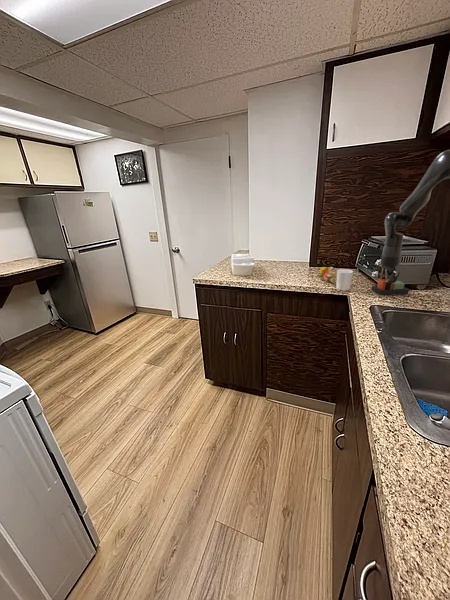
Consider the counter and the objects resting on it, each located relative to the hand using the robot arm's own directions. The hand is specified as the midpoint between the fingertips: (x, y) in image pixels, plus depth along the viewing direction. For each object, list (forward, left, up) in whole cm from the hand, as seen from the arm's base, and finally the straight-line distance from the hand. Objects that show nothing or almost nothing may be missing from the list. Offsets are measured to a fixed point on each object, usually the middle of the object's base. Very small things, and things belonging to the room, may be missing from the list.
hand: (384, 288), depth 127 cm
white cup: (+19, 0, -2) cm, 19 cm away
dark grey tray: (-3, -1, -2) cm, 4 cm away
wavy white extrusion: (+87, -21, -2) cm, 90 cm away
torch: (+28, -17, -2) cm, 33 cm away
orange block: (0, 0, 0) cm, 0 cm away
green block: (-5, -3, -2) cm, 6 cm away
